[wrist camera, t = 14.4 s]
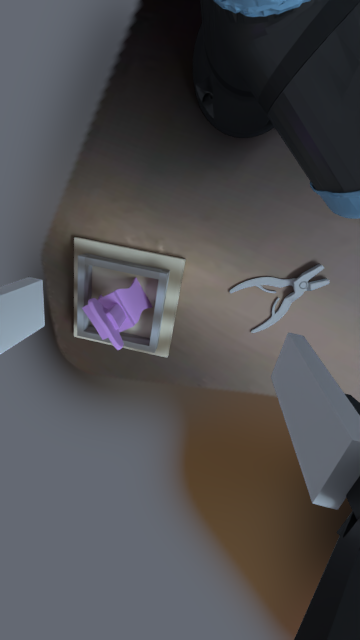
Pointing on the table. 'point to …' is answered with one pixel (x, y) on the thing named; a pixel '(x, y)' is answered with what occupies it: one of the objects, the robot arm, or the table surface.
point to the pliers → (298, 285)
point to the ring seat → (118, 273)
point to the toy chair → (117, 312)
